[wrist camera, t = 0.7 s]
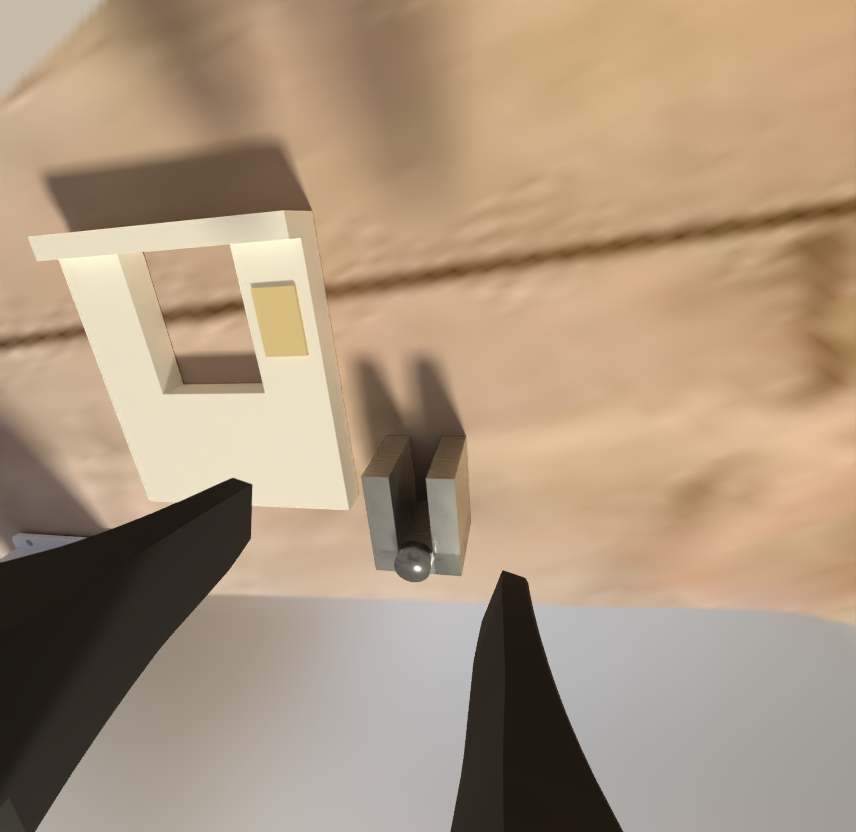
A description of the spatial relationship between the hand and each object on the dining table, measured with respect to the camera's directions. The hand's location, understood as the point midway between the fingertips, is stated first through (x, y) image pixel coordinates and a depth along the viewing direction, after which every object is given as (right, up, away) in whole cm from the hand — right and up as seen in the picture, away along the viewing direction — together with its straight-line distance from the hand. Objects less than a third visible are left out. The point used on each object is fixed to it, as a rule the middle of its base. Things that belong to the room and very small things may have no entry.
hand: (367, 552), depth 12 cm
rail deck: (-9, +6, +11) cm, 15 cm away
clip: (+2, 0, +11) cm, 11 cm away
